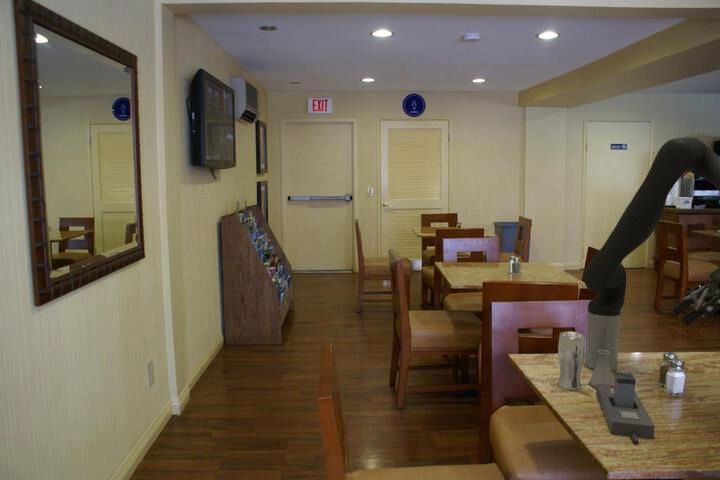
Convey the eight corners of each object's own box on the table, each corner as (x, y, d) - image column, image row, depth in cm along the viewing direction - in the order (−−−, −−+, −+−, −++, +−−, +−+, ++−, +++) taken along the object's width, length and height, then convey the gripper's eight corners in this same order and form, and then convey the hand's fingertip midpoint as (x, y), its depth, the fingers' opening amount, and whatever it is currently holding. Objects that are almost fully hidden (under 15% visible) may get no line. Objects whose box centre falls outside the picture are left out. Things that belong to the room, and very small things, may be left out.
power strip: (596, 393, 156) (596, 381, 156) (631, 397, 154) (632, 384, 153) (614, 442, 129) (615, 427, 129) (658, 447, 127) (659, 432, 126)
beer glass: (579, 392, 157) (582, 340, 155) (553, 387, 160) (556, 336, 158) (584, 384, 163) (587, 333, 161) (559, 379, 166) (562, 329, 164)
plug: (612, 410, 146) (614, 372, 145) (629, 411, 145) (632, 374, 144) (614, 416, 142) (617, 378, 141) (632, 418, 141) (635, 380, 140)
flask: (618, 391, 158) (620, 356, 157) (590, 389, 159) (592, 355, 158) (612, 381, 165) (614, 348, 164) (585, 379, 166) (587, 346, 165)
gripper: (715, 258, 142) (660, 299, 147) (736, 268, 129) (675, 314, 133) (737, 280, 142) (681, 321, 146) (761, 293, 128) (698, 338, 133)
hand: (678, 317), depth 140 cm, fingers open, 8 cm apart
